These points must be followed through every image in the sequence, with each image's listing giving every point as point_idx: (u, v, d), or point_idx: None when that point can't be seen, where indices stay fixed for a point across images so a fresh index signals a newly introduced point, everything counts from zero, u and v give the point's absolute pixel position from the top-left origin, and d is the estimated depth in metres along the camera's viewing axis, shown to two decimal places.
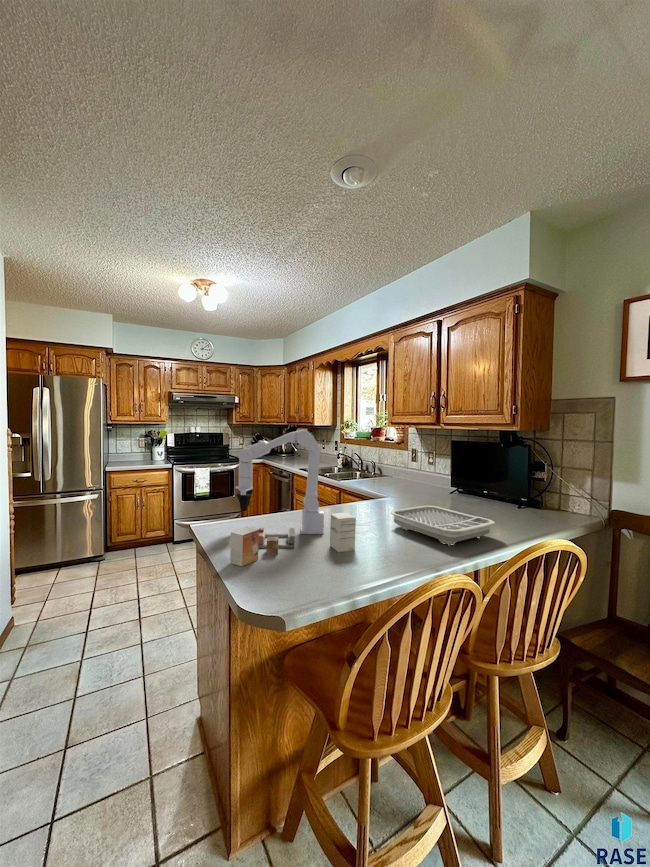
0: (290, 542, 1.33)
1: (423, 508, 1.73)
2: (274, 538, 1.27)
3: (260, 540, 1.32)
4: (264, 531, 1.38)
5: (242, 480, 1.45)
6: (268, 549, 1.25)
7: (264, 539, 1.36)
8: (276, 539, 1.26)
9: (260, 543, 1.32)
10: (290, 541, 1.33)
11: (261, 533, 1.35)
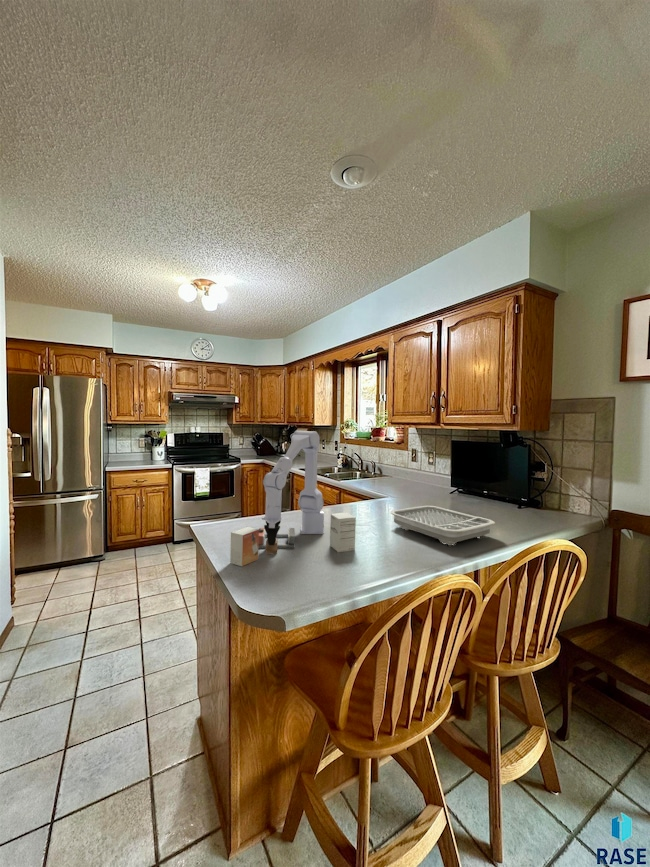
0: (290, 542, 1.33)
1: (423, 508, 1.73)
2: None
3: (260, 540, 1.32)
4: (264, 531, 1.38)
5: (270, 509, 1.26)
6: (267, 551, 1.25)
7: (264, 539, 1.36)
8: (275, 541, 1.27)
9: (260, 543, 1.32)
10: (290, 541, 1.33)
11: (261, 533, 1.35)
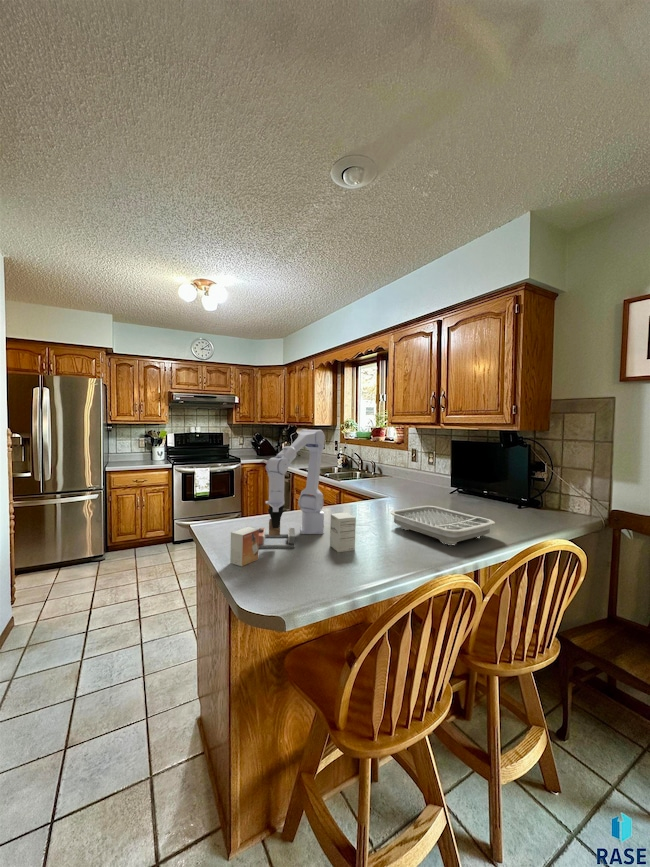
0: (290, 542, 1.33)
1: (423, 508, 1.73)
2: None
3: (260, 540, 1.32)
4: (264, 531, 1.38)
5: (273, 494, 1.28)
6: (270, 530, 1.29)
7: (264, 539, 1.36)
8: None
9: (260, 543, 1.32)
10: (290, 541, 1.33)
11: (261, 533, 1.35)
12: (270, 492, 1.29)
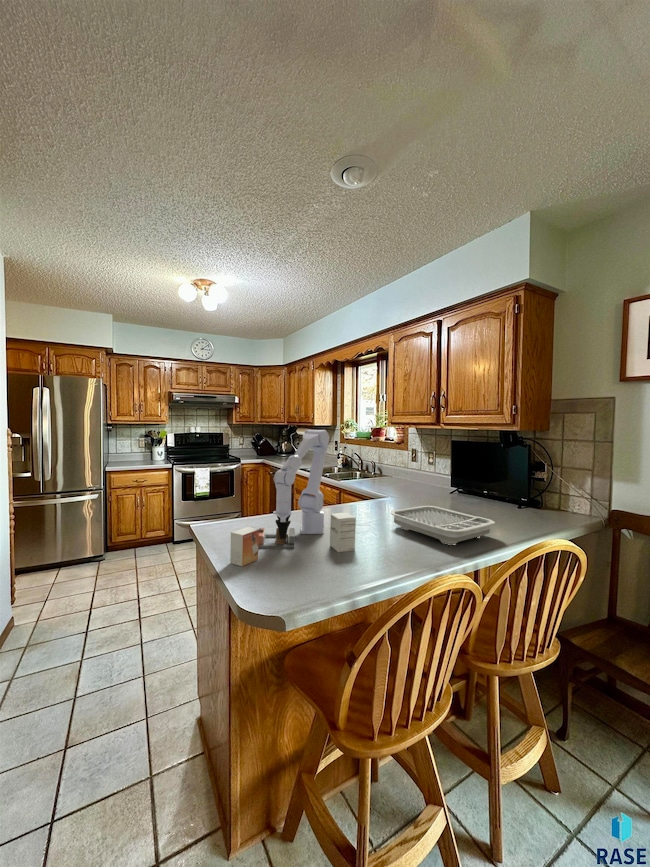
0: (290, 542, 1.33)
1: (422, 508, 1.72)
2: None
3: (260, 540, 1.32)
4: (264, 531, 1.38)
5: (281, 505, 1.34)
6: (277, 539, 1.35)
7: (264, 539, 1.36)
8: None
9: (260, 543, 1.32)
10: (290, 541, 1.33)
11: (261, 533, 1.35)
12: (277, 503, 1.35)
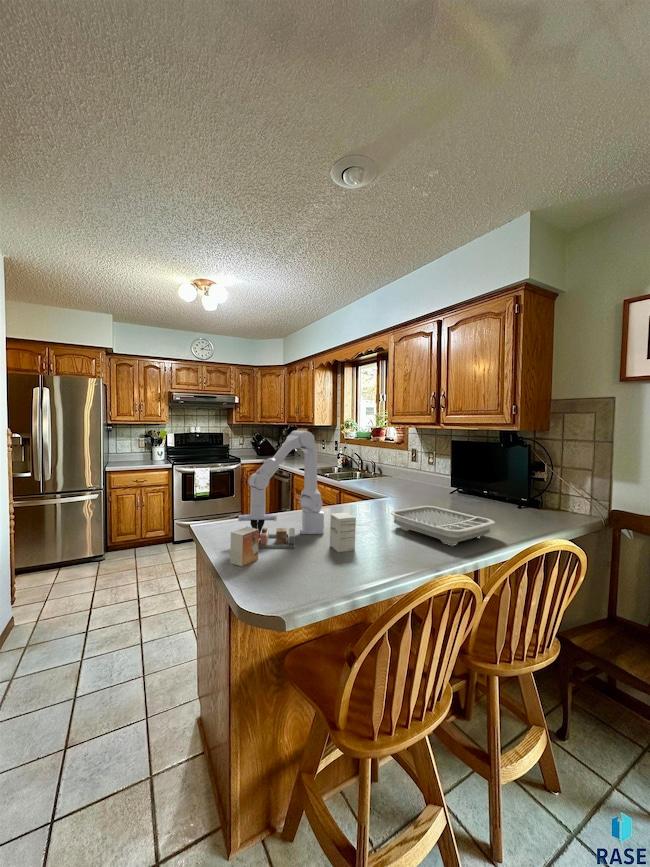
0: (290, 542, 1.33)
1: (422, 508, 1.72)
2: (283, 529, 1.38)
3: (263, 540, 1.32)
4: (267, 531, 1.39)
5: None
6: (277, 539, 1.35)
7: None
8: (285, 530, 1.37)
9: (263, 543, 1.32)
10: (290, 541, 1.33)
11: (264, 533, 1.35)
12: None
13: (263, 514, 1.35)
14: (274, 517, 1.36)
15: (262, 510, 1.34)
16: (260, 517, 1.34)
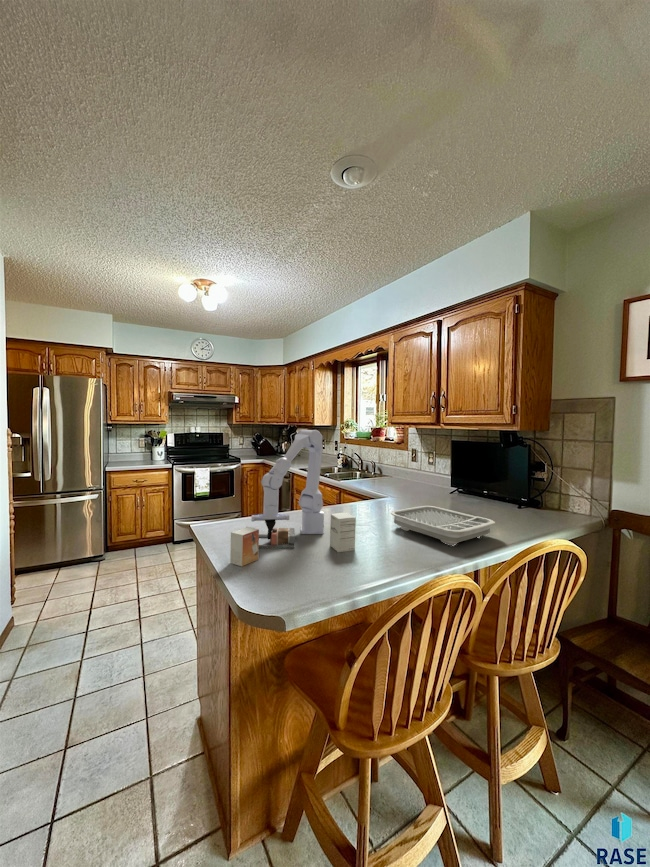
0: (290, 542, 1.33)
1: (422, 508, 1.72)
2: (284, 529, 1.38)
3: (274, 540, 1.32)
4: (277, 531, 1.39)
5: None
6: (279, 539, 1.36)
7: None
8: (286, 530, 1.37)
9: (274, 543, 1.32)
10: (290, 541, 1.33)
11: (275, 533, 1.35)
12: None
13: (276, 514, 1.36)
14: (287, 516, 1.38)
15: (276, 510, 1.35)
16: (274, 517, 1.35)
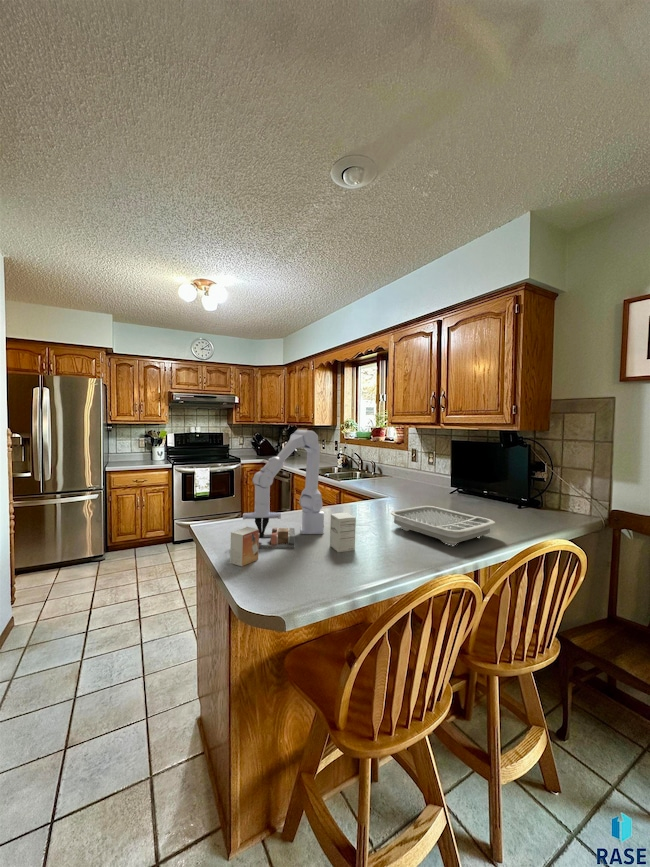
0: (290, 542, 1.33)
1: (422, 508, 1.72)
2: (284, 529, 1.38)
3: (274, 540, 1.32)
4: (277, 531, 1.39)
5: None
6: (279, 539, 1.36)
7: None
8: (286, 530, 1.37)
9: (274, 543, 1.32)
10: (290, 541, 1.33)
11: (275, 533, 1.35)
12: None
13: (267, 512, 1.36)
14: (278, 515, 1.37)
15: (266, 508, 1.35)
16: (264, 515, 1.35)
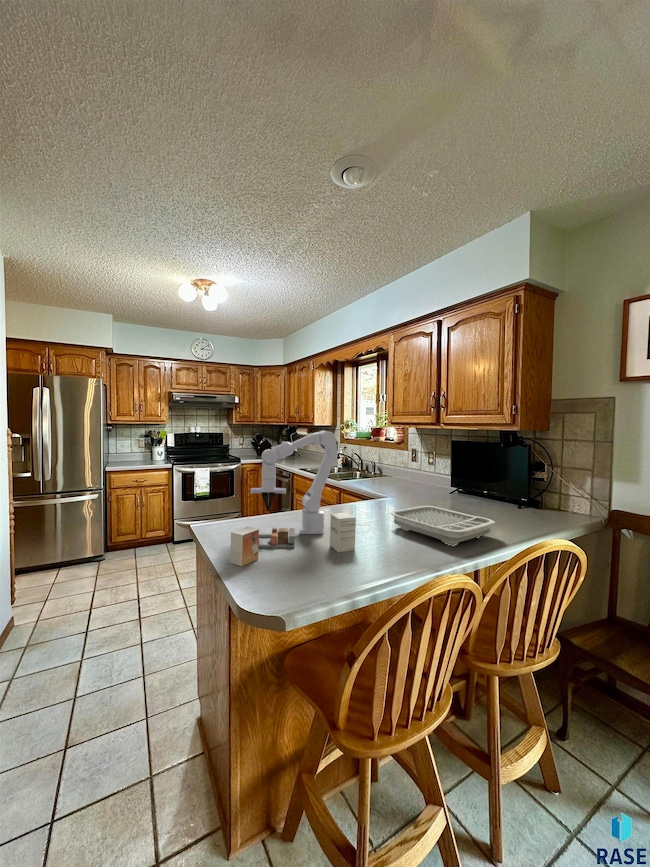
0: (290, 542, 1.33)
1: (421, 508, 1.72)
2: (284, 529, 1.38)
3: (274, 540, 1.32)
4: (277, 531, 1.39)
5: None
6: (279, 539, 1.36)
7: None
8: (286, 530, 1.37)
9: (274, 543, 1.32)
10: (290, 541, 1.33)
11: (275, 533, 1.35)
12: None
13: (273, 487, 1.45)
14: (284, 490, 1.46)
15: (272, 483, 1.44)
16: (271, 490, 1.44)
